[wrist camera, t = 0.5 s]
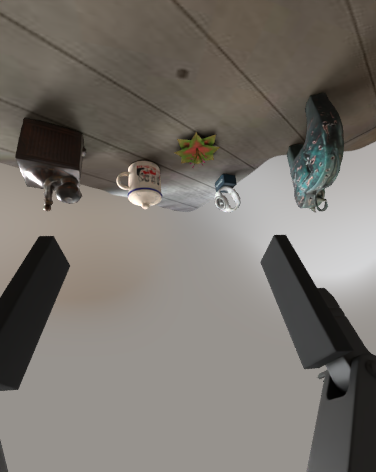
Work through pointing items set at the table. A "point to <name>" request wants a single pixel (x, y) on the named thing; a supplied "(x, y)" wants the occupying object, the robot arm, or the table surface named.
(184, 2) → the table surface
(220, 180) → the watch
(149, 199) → the teacup with lid
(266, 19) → the table surface
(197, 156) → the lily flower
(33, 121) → the manual coffee grinder
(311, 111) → the ceramic cat
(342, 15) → the table surface
